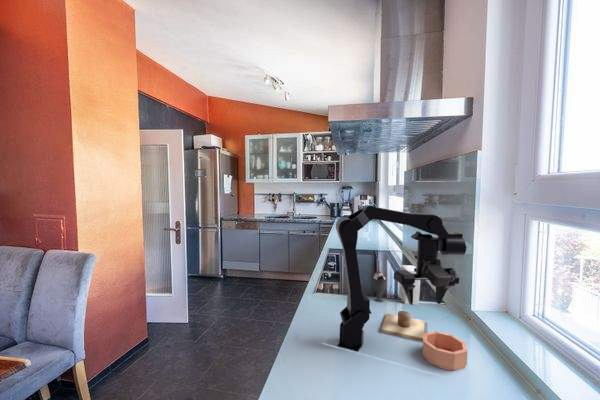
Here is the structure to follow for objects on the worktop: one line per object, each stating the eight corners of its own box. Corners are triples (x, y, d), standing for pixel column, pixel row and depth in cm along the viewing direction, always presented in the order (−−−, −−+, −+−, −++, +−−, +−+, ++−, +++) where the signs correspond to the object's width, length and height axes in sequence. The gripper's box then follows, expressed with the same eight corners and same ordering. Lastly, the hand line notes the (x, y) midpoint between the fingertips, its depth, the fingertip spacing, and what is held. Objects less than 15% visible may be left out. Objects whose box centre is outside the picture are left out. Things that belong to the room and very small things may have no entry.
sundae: (374, 296, 125) (375, 263, 125) (388, 300, 121) (390, 266, 120) (367, 301, 120) (368, 266, 119) (382, 305, 116) (383, 270, 115)
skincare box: (398, 297, 125) (400, 264, 124) (412, 297, 125) (413, 264, 124) (405, 305, 117) (407, 270, 116) (420, 305, 117) (421, 270, 116)
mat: (377, 333, 94) (377, 332, 94) (384, 315, 107) (384, 314, 107) (426, 345, 88) (426, 343, 88) (427, 324, 101) (427, 322, 101)
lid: (381, 331, 94) (381, 317, 94) (387, 315, 106) (387, 302, 106) (423, 341, 89) (424, 326, 89) (424, 323, 101) (425, 309, 100)
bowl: (422, 364, 78) (422, 346, 78) (423, 344, 88) (423, 328, 88) (467, 376, 73) (468, 357, 73) (463, 353, 83) (464, 337, 83)
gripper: (413, 261, 77) (410, 317, 77) (474, 261, 79) (471, 315, 80) (393, 252, 88) (391, 300, 88) (448, 251, 90) (445, 299, 91)
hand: (424, 304), depth 87 cm, fingers open, 9 cm apart
